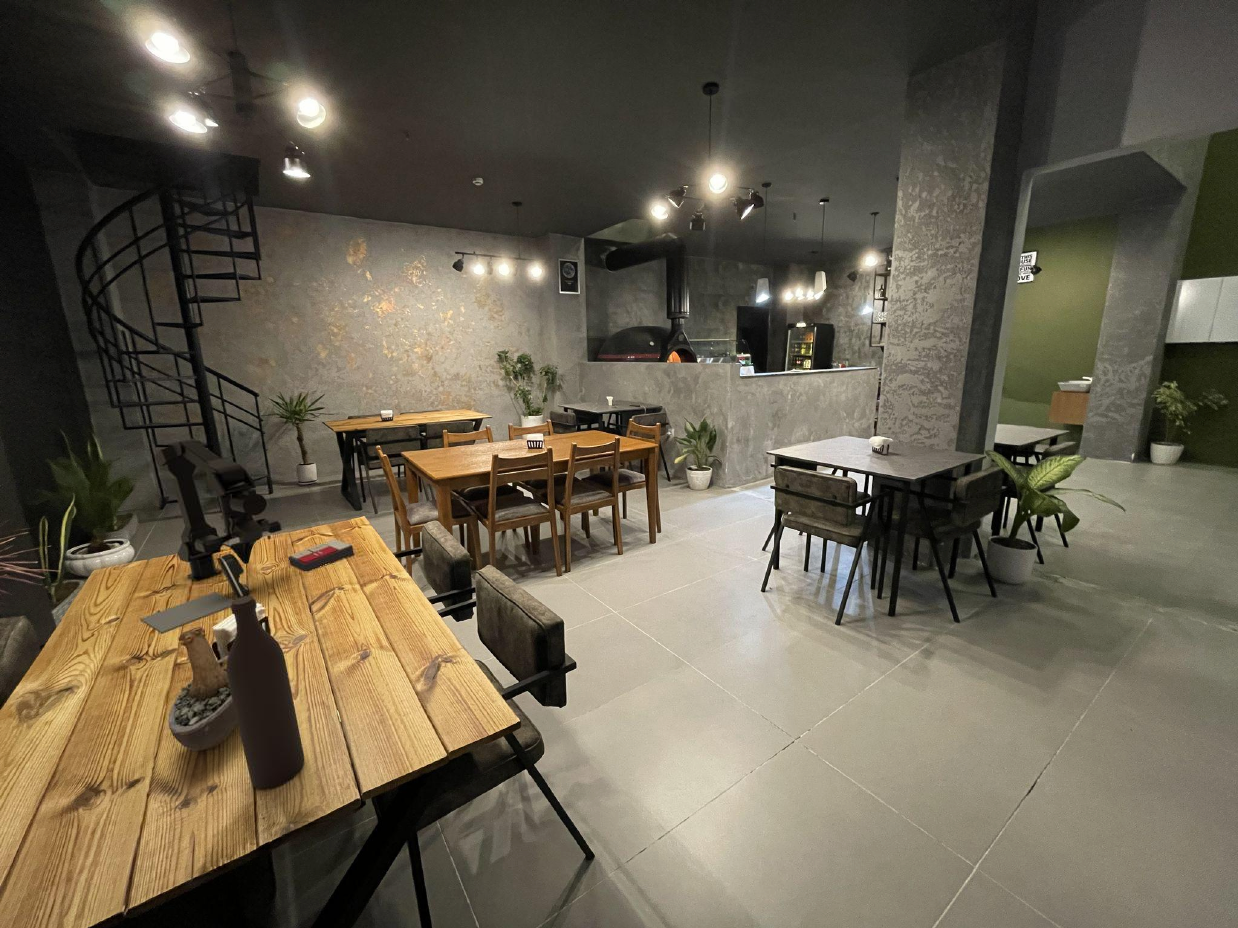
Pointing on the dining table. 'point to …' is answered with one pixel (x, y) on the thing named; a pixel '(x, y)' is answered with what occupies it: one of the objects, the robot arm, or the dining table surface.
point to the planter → (203, 698)
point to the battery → (233, 573)
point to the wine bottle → (263, 701)
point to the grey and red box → (321, 555)
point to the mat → (187, 612)
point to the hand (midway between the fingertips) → (246, 563)
